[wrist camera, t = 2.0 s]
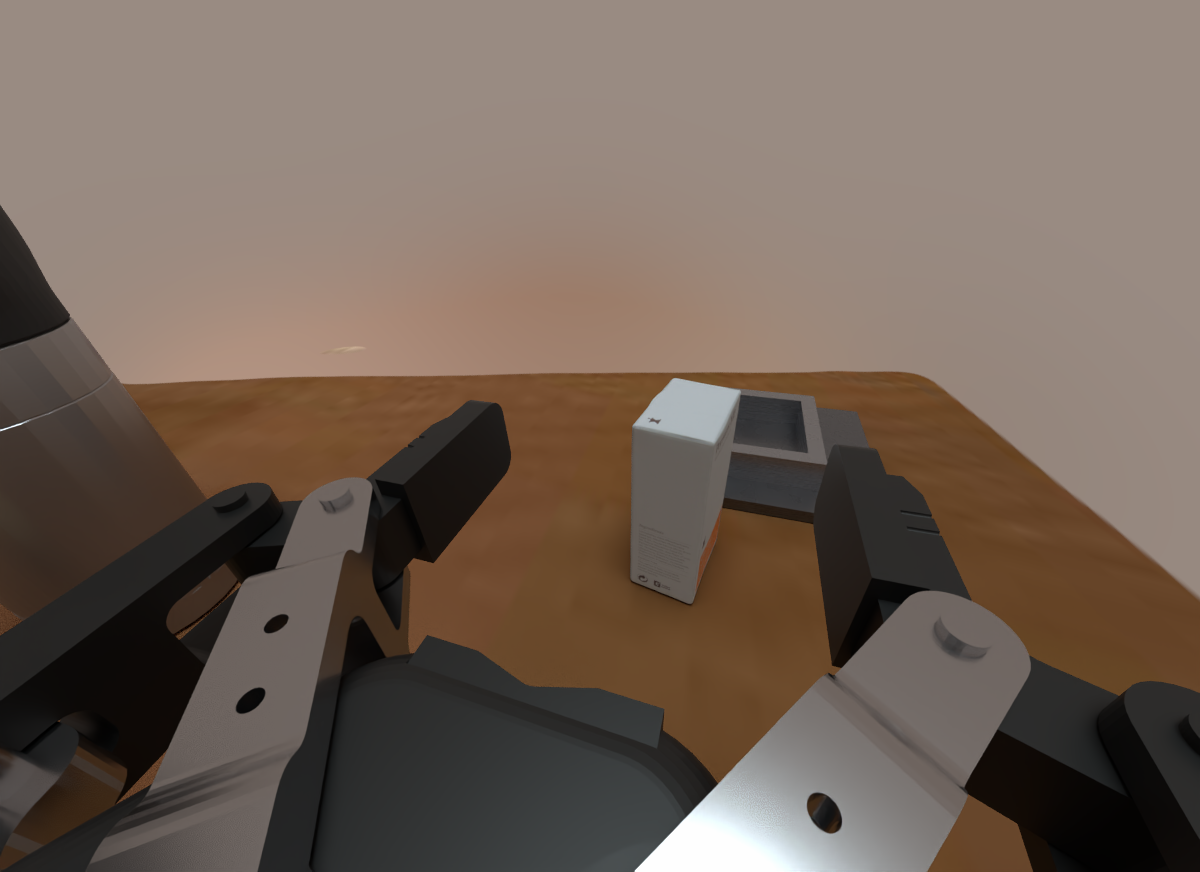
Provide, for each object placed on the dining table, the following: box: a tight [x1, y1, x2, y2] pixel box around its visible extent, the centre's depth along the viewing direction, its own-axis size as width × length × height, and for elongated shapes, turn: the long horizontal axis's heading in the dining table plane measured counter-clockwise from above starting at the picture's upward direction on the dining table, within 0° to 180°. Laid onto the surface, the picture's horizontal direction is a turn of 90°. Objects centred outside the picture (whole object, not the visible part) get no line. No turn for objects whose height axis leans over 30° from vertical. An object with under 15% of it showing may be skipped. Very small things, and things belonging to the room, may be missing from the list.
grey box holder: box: [722, 387, 869, 523], centre depth 37 cm, size 18×16×4 cm
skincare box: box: [630, 378, 741, 604], centre depth 25 cm, size 6×4×12 cm
